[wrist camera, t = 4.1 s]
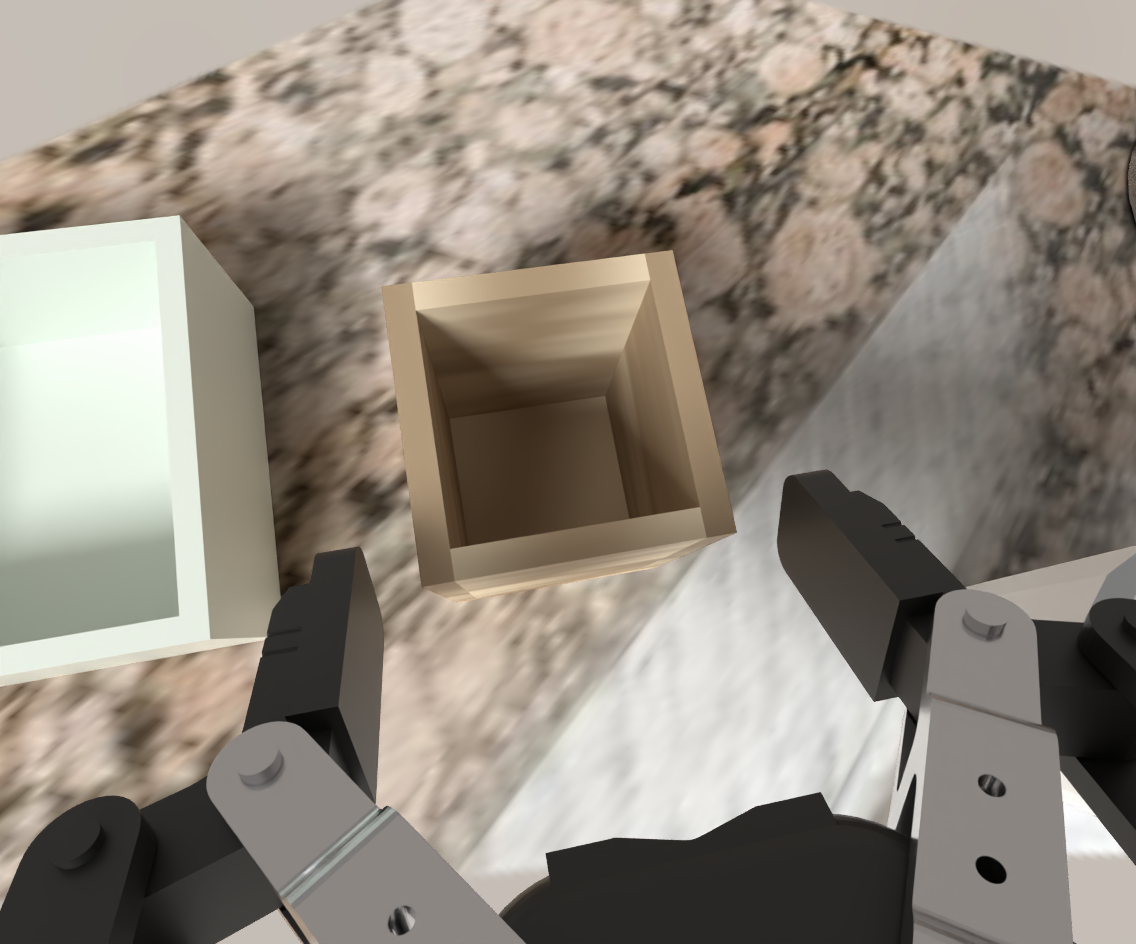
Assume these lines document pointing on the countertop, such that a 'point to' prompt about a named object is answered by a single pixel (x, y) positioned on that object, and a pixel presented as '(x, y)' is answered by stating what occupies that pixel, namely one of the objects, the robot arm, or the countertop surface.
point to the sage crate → (128, 452)
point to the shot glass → (1069, 600)
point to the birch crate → (553, 425)
